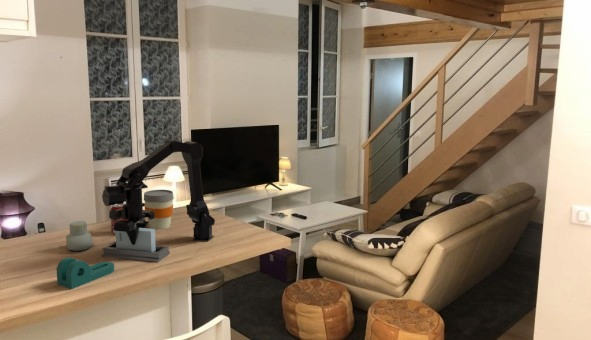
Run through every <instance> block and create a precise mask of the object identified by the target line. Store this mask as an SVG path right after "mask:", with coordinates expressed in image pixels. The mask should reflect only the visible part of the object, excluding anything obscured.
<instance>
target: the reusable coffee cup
mask: <svg viewBox="0 0 591 340" xmlns="http://www.w3.org/2000/svg"><path fill="white" fill-rule="evenodd" d="M174 197H175V196H174V192H173V191H172V190H170V189H151V190H147V191H145V192H143V201H144V203H145V206H144V210H150V211H153V212H154V213H155V218H154V219H152V220H150V219H149V218H148V217H146V218H147V221H149V223H148V229H155V230H163V229H164V230H165V229H168V228H170V227H171V221H172V216H173V213H174V211H173V210H174Z"/></svg>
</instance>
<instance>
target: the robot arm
mask: <svg viewBox="0 0 591 340" xmlns="http://www.w3.org/2000/svg"><path fill="white" fill-rule="evenodd" d="M175 152H180V153H181V155H182V159H183V160H184V163H186V168H187V176H188V177H187V178H188V184H189V185H188V186H189V194H190V202H189V204H186V205H185V208H186V215H187V216H188V218H189V219H191V221H192V223H193V224H194V226H193V238H192V241H201V242H209V241H211V239H212V238H214V234H213V226H214V225H215V222H216V219H215V218H214V217H212V215H210V211H209V210H210V209H209V207H208V205H207V203H206V201H205V199H204V195H203V194H204V193H203V184H202V173H201V162H202V160H203V154H204V149H203V145H202V144H200V143H198V142H195V141H189V140H186V141H184V142H181V141H179V140H174V139H167V140H166V141H165V143H163V144H162V145H160V146H159V147H158V148H156V149H155V150H154V151H152V152H151V153H149V154H148V155H146V156H145V157H144V158H142V159H141V160H139V161H135V162H132V163H130V164H128V165H127V166H125V167H124V168H122V170H121V175H120V176H119V178H118V180H117V181H116V183H115V185H105V186H104V189H103V191H102V194H101V198H102V202H103V205H104V206H105V207H111V206H112V205H116V204H122V203H124V204H125V205H123V208H122V209H119V210H116V209H114V210H111V211H110V210H109V214H108V215H109V216H108V217H109V218H110V220H111V219H113V221H116V220H117V219H120V218H122V219H123V220H120V221H118V222H116V223H115V224H114V225H113V230H114V231H123V232H126V233H127V234H128V237H129V239H130V241H131V244H132V245H135V243H136V240H137V235H138V231H139V228H147V227H148V226H149V224H148V223H149V221H148V220H147V221H146V218H147V217H148V218H149V219H150V220H152V219H154V218H155V213H154V212H153V211H150V210H145V209H144V208H145V207H144V206H145V202H143V189H148V188H149V186H148V185H147V184H145V183H144V180H145V179H146V178H147V177H148V176H149V173H150V172H151V171H152V169H154V168H155V167H156V166H158V165H159V164H161V163H162V162H163V161H164V160H166V159H168V157H169V156H171V155H172V154H174V153H175ZM143 207H144V208H143ZM109 218H108V219H109ZM148 218H147V219H148ZM126 219H127V220H128V221H126Z"/></svg>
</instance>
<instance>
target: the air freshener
mask: <svg viewBox="0 0 591 340" xmlns="http://www.w3.org/2000/svg"><path fill="white" fill-rule="evenodd" d="M87 225H88V224H87V222H86V221H85V220H77V221H72V222H70V223H69V225H68V226H69V234H67V235H66V236H65V240H66V247H67V250H69V251H73V252H74V251H75V252H76V251H77V252H80V251H84V250H87V249H90V247H92V246H93V238H92V234H91V233H90V232H88V226H87Z"/></svg>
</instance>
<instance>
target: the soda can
mask: <svg viewBox="0 0 591 340" xmlns="http://www.w3.org/2000/svg"><path fill="white" fill-rule="evenodd" d="M125 204H126V203H125V202H124V203H122V204H116V205H111V208H110V210H109V211H111V210H114V209H116V210H119V209H122V208H123V205H125ZM120 220H123V219H122V218H120V219H117V220H116V221H113V219H110V225H111V226H110V229H111V233H112V234H113V235H116V234H115V231H114V230H113V225H114V224H115V223H116V222H118V221H120ZM126 221H128V220H127V219H126Z"/></svg>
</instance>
